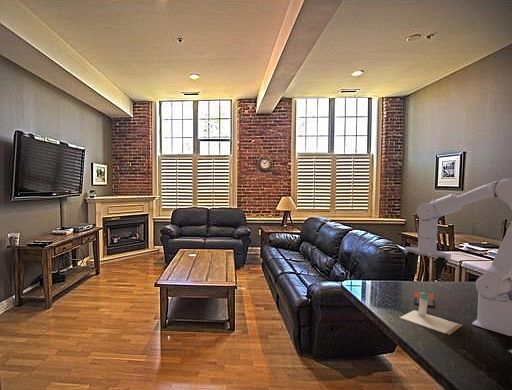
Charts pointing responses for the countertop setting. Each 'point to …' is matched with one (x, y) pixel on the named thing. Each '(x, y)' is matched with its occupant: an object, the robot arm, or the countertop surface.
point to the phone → (429, 304)
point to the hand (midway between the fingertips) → (425, 276)
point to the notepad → (432, 322)
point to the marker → (423, 304)
